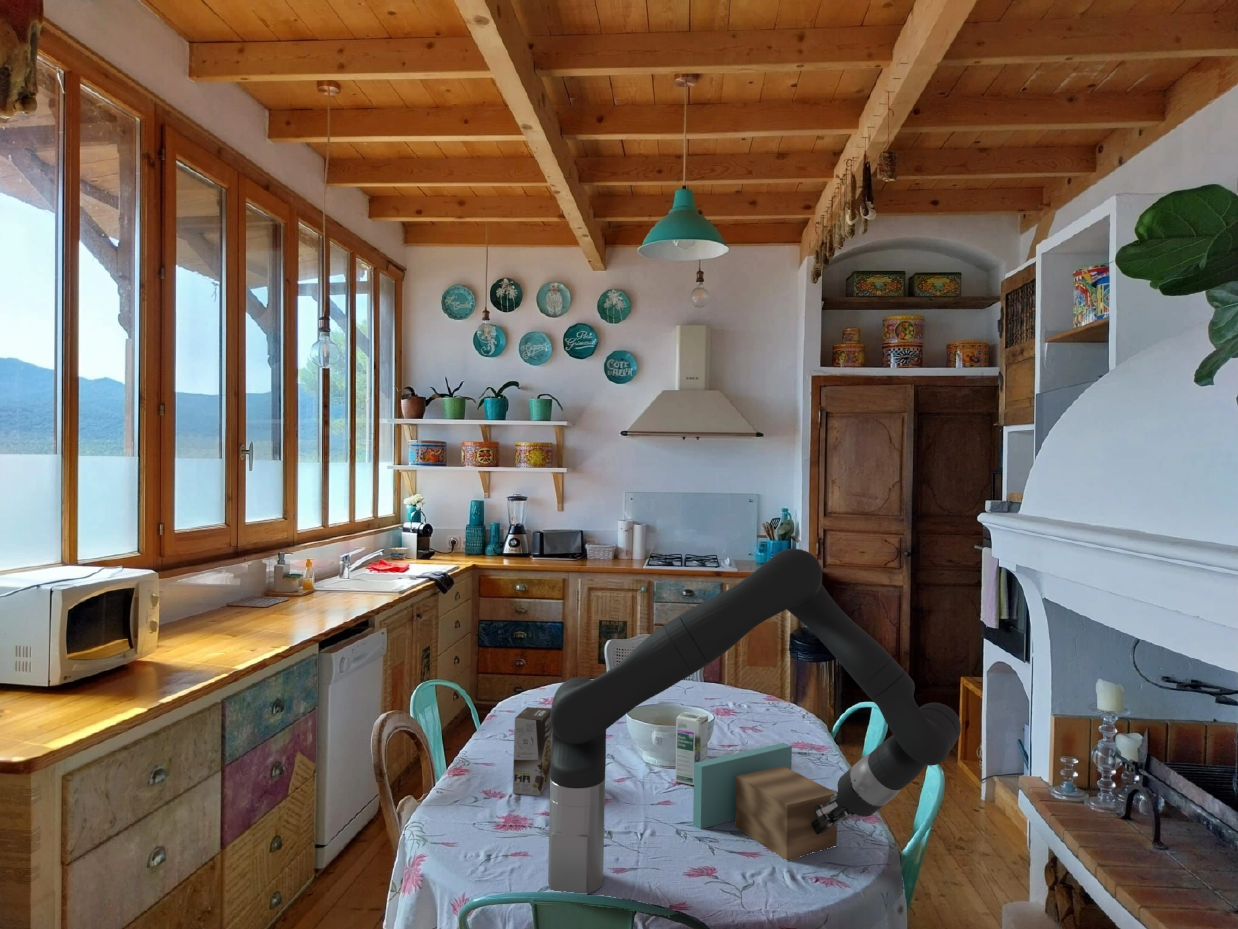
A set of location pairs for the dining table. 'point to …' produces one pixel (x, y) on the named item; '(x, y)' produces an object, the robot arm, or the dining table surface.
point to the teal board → (730, 781)
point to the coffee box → (532, 751)
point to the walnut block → (782, 811)
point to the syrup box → (690, 745)
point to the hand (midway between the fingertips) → (816, 828)
